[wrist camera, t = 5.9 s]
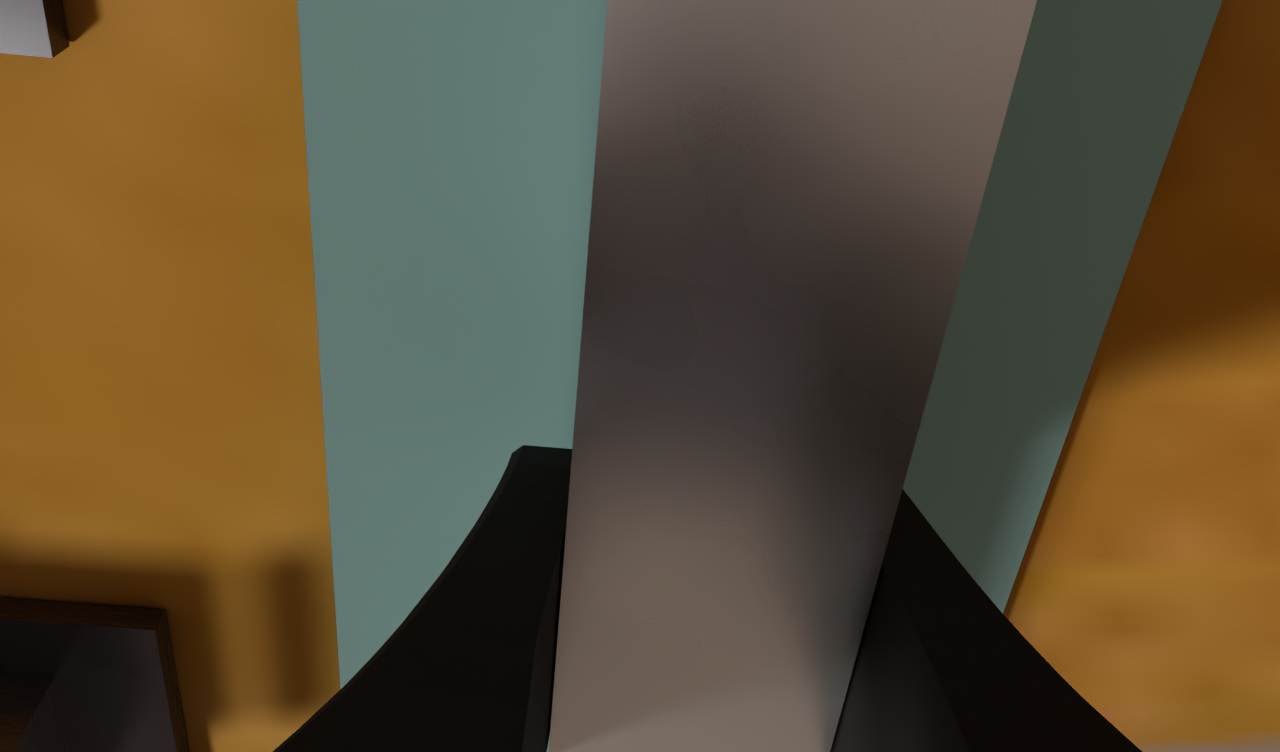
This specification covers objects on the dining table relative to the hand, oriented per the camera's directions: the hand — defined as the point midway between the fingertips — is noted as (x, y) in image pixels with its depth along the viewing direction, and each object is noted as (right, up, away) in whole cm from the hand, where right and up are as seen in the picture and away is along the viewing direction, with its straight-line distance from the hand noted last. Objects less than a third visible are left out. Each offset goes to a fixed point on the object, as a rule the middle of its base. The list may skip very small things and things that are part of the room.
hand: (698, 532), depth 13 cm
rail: (0, +1, +1) cm, 2 cm away
